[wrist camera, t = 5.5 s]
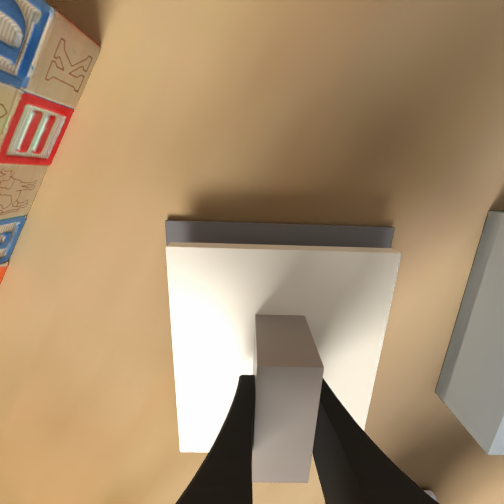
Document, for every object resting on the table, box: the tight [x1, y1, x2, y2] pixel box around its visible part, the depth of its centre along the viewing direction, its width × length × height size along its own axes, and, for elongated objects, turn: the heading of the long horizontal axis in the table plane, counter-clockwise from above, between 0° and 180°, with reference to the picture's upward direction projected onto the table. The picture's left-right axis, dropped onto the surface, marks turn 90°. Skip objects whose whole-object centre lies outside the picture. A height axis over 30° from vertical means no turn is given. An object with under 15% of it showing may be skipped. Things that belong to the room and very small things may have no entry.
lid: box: [166, 242, 402, 483], centre depth 13 cm, size 13×11×5 cm
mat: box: [165, 220, 394, 248], centre depth 16 cm, size 14×12×1 cm
